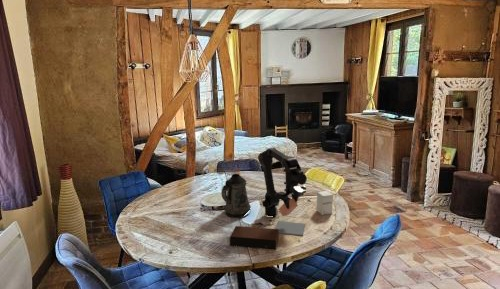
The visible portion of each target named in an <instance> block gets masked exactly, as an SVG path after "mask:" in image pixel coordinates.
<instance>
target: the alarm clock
mask: <svg viewBox="0 0 500 289" xmlns="http://www.w3.org/2000/svg"><path fill="white" fill-rule="evenodd" d="M279 234H280V233H279V231H278V229H275V228H270V227H267V228H266V227H256V226H255V227H253V226H243V225H241V226H240V225H236V226H235V227H234V228H233V231H232V232H231V234H230V236H229V246H230V247H236V248H238V247H240V248H248V247H249V248H251V249H260V248H262V249H261V250H274V251H277V246H278V242H279ZM249 248H248V249H249Z"/></svg>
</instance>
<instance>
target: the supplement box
mask: <svg viewBox="0 0 500 289" xmlns="http://www.w3.org/2000/svg"><path fill="white" fill-rule="evenodd" d="M333 197H334V194H332V193H331V192H330V191H328V190H325V191H317V192H316V211H317V213H319V214H320V215H321V216H323V215H324V216H325V215H331V214H333V202H334V198H333Z"/></svg>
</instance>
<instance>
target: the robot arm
mask: <svg viewBox="0 0 500 289" xmlns="http://www.w3.org/2000/svg"><path fill="white" fill-rule="evenodd" d="M257 159H258V163H259V165H260V166H261V167H262V169H263V176H264V184H265V188H266V192H265V194H264V200H263V201H262V202H261V204H262V207H264V215H265V214H267V215H268V216H273V217H274V218H276V216H277V214H278V211H277V210H278V208H277V206H279V203H280V200H281V201H282V202H283V204H285V206H286V208H287V209H289V200H290V199H292V198H294V200H295V202H296V203H297V204H298V200H299V198H300V197H303V196H304V195H305V194H306V193H307V186H306V185H305V184H306V182H307V179H308V177H307V175H306V174H304V173H305V172H304V171H302V168H301V166H300V163H299V161H298V160H297V158H296V157H294V156H292V155H291V156H290V155H289V156H288V155H286V154H284V153H282V151H280V150H278V149H277V148H276V147H270V148H267V149H265V150H263V151H262V152H260V153H258V157H257ZM274 159H275V160H277V162H280V163H281V166H282V167H283V168H284V169H282V171H283V172H285V174H284V175H285V179H284V180H285V181H284V182H283V184H284V185H285V188H284V189H283V191H279V192H277V191H276V189H275V183H274V178H273V170H272V166H273V160H274ZM301 185H302V186H301ZM290 195H291V197H290ZM273 217H272V218H273Z"/></svg>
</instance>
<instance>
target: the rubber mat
mask: <svg viewBox="0 0 500 289" xmlns="http://www.w3.org/2000/svg"><path fill="white" fill-rule="evenodd" d="M305 227H306V223H304V222H303V223H302V222H291V221H282V220H278V221H277V222H276V224H275V227H274V229H278V231H279V234H281V235H291V236H300V237H303V236H304V232H305Z"/></svg>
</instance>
